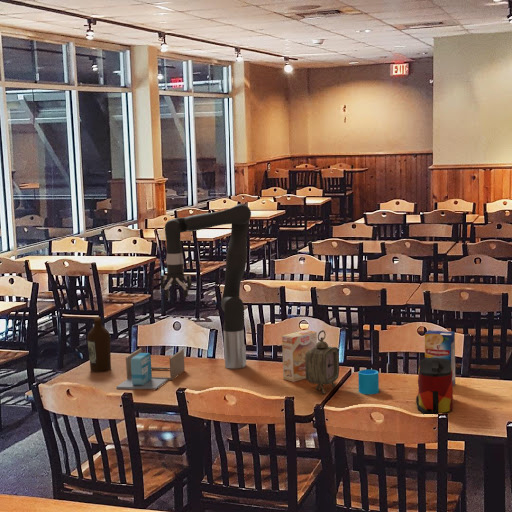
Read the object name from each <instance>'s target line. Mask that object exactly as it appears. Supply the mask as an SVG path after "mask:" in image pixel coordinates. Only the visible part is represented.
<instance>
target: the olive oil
mask: <svg viewBox="0 0 512 512" xmlns="http://www.w3.org/2000/svg"><path fill="white" fill-rule="evenodd" d="M93 319H94V320H93V327H92V328H91V329H90V331H88V333H87V338H86V341H87V348H88V349H87V350H88V355H89V369H90V371H91V372H93V373H103V372H108V371H111V369H112V362H111V361H112V358H111V356H112V355H111V334H110V332H109V330H108V329H106V328H105V326H103V324H102V317H101V316H94V317H93Z"/></svg>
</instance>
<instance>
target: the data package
mask: <svg viewBox="0 0 512 512" xmlns="http://www.w3.org/2000/svg"><path fill="white" fill-rule="evenodd" d="M151 356H152V355H151V353H150V352H142V353H139V354H138V355H136V356H134V357H133V358H132V359H131V372H132V384H133V385H144V384H145V383H147V382H148V381H149V380H151V378H152V377H153V375H152V374H153V373H152V372H153V370H151V367H152V357H151Z"/></svg>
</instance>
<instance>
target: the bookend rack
mask: <svg viewBox="0 0 512 512" xmlns="http://www.w3.org/2000/svg"><path fill="white" fill-rule="evenodd" d="M184 350H185V349H183V348H182V349H180V350H179V351H178V352H176V353H175V354H174V355H172V356H171V357H170V358H169V367H168V366H167V367H163V366H162V367H161V366H159V367H157V366H151V369H170V370H169V371H170V374H169V377H167V376H166V377H163V376H152V378H151V379H167V381H170V380H172V379H173V380H175V379H176V378H177V377H178V376H180V375H181V374H182V373H183V372H185V371H186V370H185V352H184ZM142 351H143V350H142V347H141V348H139V349H137V350H136V351H133V352H132V353H131V354H129V355H127V356H125V365H126V380H127V379H128V378H132V372H131V359H132V358H133V357H134V356H136V355H138V354H139V353H143V352H142ZM184 370H185V371H184ZM182 371H183V372H182ZM181 372H182V373H181ZM180 373H181V374H180ZM179 374H180V375H179ZM177 375H178V376H177ZM176 376H177V377H176ZM175 377H176V378H175ZM174 378H175V379H174ZM173 380H172V381H173Z"/></svg>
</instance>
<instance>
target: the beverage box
mask: <svg viewBox="0 0 512 512" xmlns="http://www.w3.org/2000/svg"><path fill="white" fill-rule="evenodd" d="M426 358H443V359H447V360H450V361H451V367H452V371H453V375H452V386H453V387H454V386H455V385H456V332H455V331H450V330H433V329H432V330H431V329H428V330H427V331H425V333H424V359H426Z"/></svg>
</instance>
